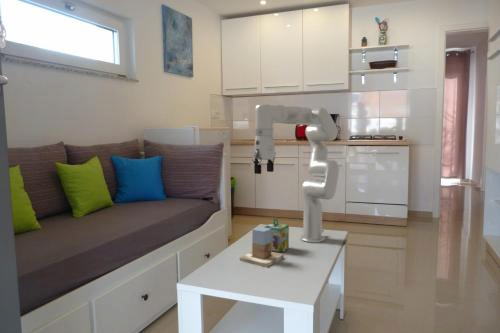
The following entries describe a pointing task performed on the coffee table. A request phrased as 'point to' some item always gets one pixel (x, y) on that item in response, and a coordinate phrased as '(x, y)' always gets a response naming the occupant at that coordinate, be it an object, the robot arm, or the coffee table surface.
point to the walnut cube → (261, 250)
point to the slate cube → (261, 235)
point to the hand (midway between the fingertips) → (264, 172)
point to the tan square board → (260, 261)
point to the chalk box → (279, 236)
